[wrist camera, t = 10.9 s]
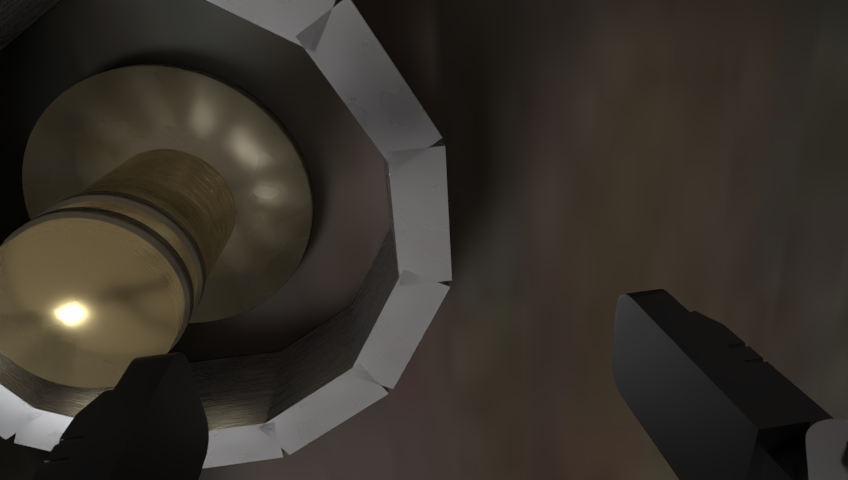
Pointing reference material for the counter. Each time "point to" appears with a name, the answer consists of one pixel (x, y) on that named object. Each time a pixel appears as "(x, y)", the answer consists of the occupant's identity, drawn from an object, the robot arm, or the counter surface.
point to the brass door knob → (147, 220)
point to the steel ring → (342, 334)
